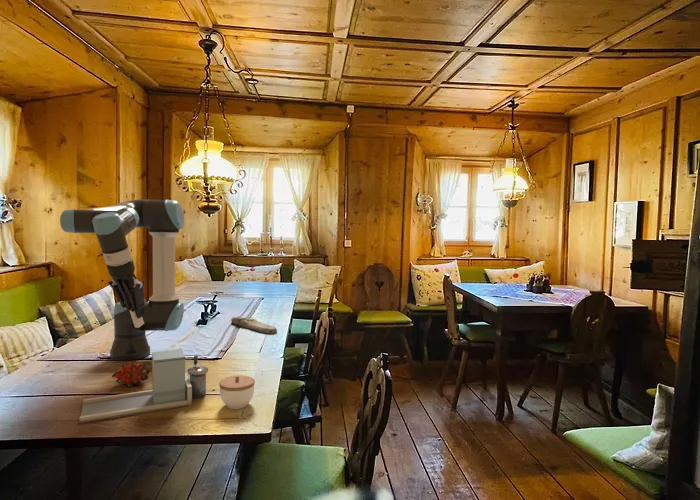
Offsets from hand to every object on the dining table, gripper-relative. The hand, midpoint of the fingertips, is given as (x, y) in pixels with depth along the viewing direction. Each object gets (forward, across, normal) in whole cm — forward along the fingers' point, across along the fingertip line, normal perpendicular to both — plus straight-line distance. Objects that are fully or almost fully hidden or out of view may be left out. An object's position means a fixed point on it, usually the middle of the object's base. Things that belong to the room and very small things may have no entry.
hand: (139, 325), depth 151 cm
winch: (+22, +20, -4) cm, 30 cm away
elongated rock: (+51, -10, +74) cm, 91 cm away
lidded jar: (+21, +37, -6) cm, 43 cm away
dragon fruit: (+22, -6, -6) cm, 23 cm away
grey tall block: (+19, +15, -11) cm, 27 cm away
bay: (+17, +9, -17) cm, 26 cm away
